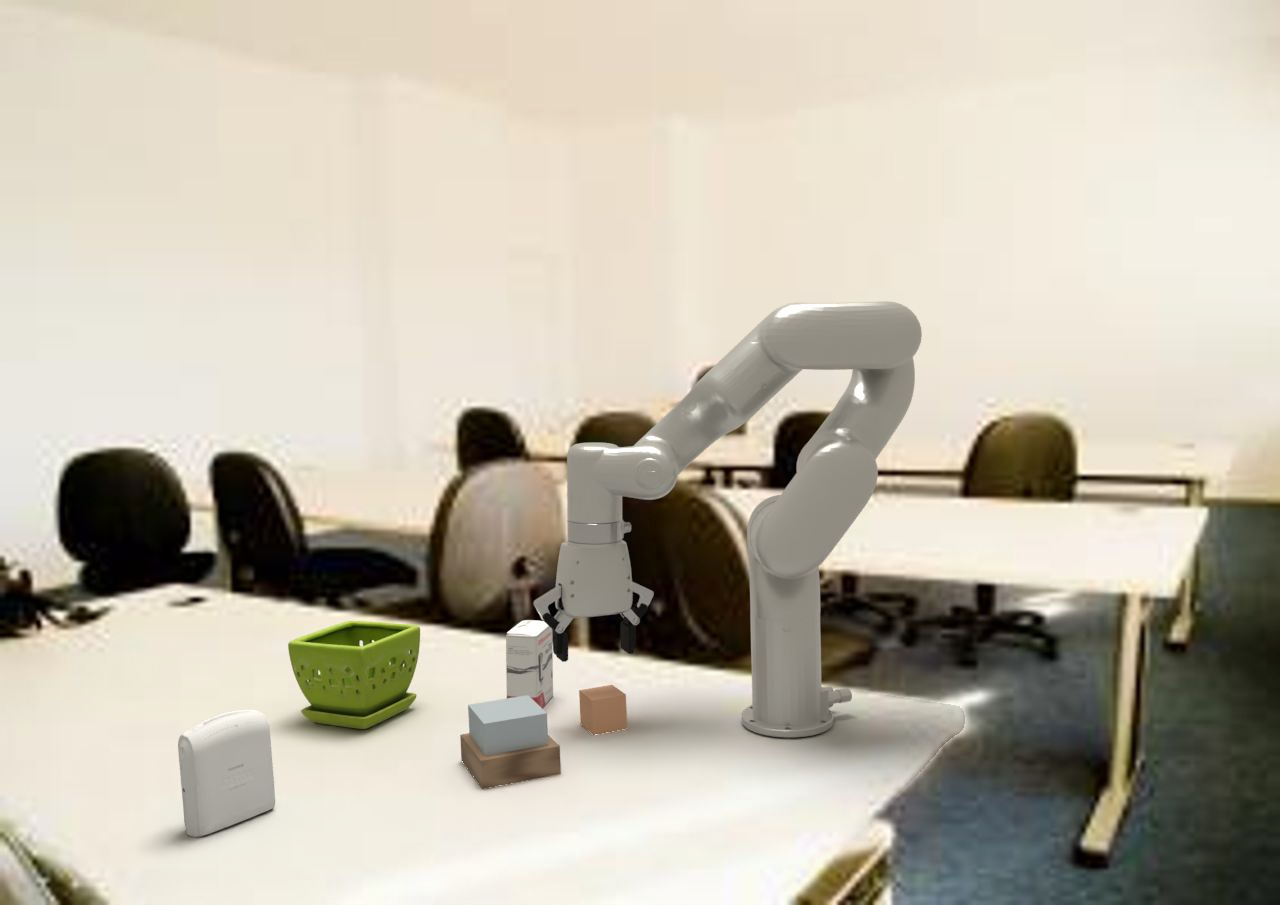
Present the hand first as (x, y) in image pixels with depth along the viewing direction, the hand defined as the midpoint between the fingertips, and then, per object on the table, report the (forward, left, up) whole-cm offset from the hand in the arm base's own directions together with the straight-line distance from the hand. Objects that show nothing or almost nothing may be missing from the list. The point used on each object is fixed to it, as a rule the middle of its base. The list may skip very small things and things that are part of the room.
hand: (594, 655), depth 147 cm
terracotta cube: (-1, 0, -10) cm, 10 cm away
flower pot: (+29, -21, -11) cm, 37 cm away
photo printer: (+48, +8, -10) cm, 50 cm away
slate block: (+15, +8, -7) cm, 19 cm away
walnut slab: (+15, +9, -11) cm, 20 cm away
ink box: (+5, -14, -10) cm, 18 cm away
